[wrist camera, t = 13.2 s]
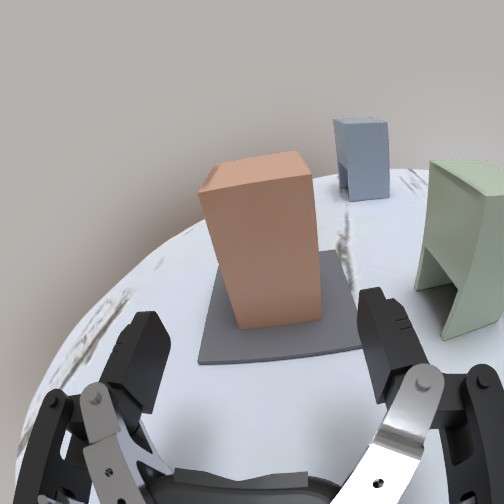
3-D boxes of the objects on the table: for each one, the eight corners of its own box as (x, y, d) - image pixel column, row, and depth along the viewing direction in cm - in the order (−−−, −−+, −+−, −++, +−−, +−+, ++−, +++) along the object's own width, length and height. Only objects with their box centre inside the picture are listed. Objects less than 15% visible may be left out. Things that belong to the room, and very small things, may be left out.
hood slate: (374, 183, 41) (371, 117, 35) (389, 197, 36) (387, 122, 30) (339, 186, 42) (332, 119, 36) (350, 201, 37) (344, 124, 31)
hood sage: (466, 275, 20) (487, 160, 14) (498, 320, 15) (541, 193, 9) (414, 287, 21) (429, 160, 15) (443, 340, 15) (486, 196, 10)
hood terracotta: (310, 270, 25) (297, 150, 19) (321, 319, 20) (311, 173, 14) (244, 279, 26) (215, 164, 20) (239, 329, 20) (197, 192, 15)
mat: (335, 252, 27) (335, 249, 27) (366, 346, 17) (367, 343, 17) (219, 268, 29) (218, 265, 29) (199, 364, 19) (197, 361, 18)
